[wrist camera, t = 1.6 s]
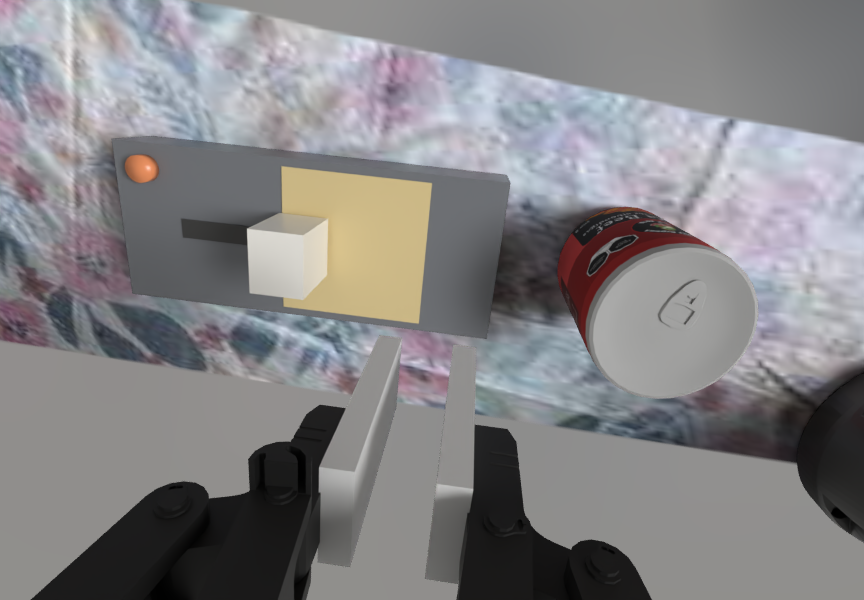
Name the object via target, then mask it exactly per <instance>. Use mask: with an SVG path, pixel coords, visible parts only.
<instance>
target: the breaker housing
mask: <svg viewBox="0 0 864 600" xmlns="http://www.w3.org/2000/svg"><path fill="white" fill-rule="evenodd" d="M112 145H113V153H114V160H115V167H116V175H117V182H118V190H119V197H120V204H121V212H122V219H123V227H124V234H125V241H126V249H127V256H128V263H129V271H130V278H131V286H132V293H133V294H139V295H147V296H155V297H163V298H171V299H178V300H186V301H194V302H202V303H210V304H217V305H225V306H233V307H241V308H249V309H257V310H264V311H272V312H280V313H288V314H296V315H304V316H311V317H319V318H327V319H335V320H343V321H351V322H358V323H366V324H374V325H382V326H390V327H398V328H405V329H413V330H421V331H429V332H437V333H444V334H452V335H460V336H468V337H476V338H484V339H487V333H488V326H489V320H490V313H491V307H492V300H493V293H494V287H495V280H496V274H497V267H498V261H499V254H500V248H501V241H502V234H503V228H504V221H505V215H506V208H507V202H508V195H509V189H510V181H509V179H508V176H507V175H503V174H494V173H485V172H475V171H466V170H457V169H448V168H439V167H430V166H421V165H412V164H403V163H394V162H384V161H375V160H366V159H357V158H348V157H339V156H330V155H321V154H312V153H303V152H294V151H284V150H275V149H266V148H257V147H248V146H239V145H230V144H221V143H212V142H203V141H194V140H184V139H175V138H166V137H157V136H146V137H131V138H115V139H112ZM278 213H285V214H293V215H302V216H310V217H319V218H327V219H328V249H327V276H326V277H325V278H324V279H323V280H322V281H321V282H320V283H319V284H318V285H317V286H316V287H315V288H314V289H313V290H312V291H311V292H310V293H309V294H308V296H307V297H306V298H305V299H304V300H300V299H292V298H284V297H276V296H268V295H260V294H252V293H250V290H249V266H248V242H247V228H249V227H251V226H253V225H256V224H258V223H260V222H262V221H264V220H266V219H268V218H270V217H272V216H274V215H276V214H278Z"/></svg>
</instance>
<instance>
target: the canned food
mask: <svg viewBox="0 0 864 600" xmlns="http://www.w3.org/2000/svg"><path fill="white" fill-rule="evenodd" d="M558 281H559V287H560V289H561V291H562V294H563V296H564V298H565V301H566V303H567V305H568V307H569V310H570V312H571V314H572V316H573V318H574V321H575V323H576V325H577V327H578V330H579V332H580V334H581V336H582V339H583V341H584V343H585V345H586V348H587V350H588V352H589V354H590V355H591V358H592V360H593V362H594V363H595V364H596V366H597V367H598V368H599V370H600V371H601V372H602V374H603V375H604V376H605V377H606V378H607V379H608V380H609V381H610V382H611V383H613V384H614V385H615V386H617V387H618V388H620V389H622V390H624V391H626V392H627V393H631V394H634V395H637V396H640V397H646V398H654V399H661V398H674V397H679V396H684V395H688V394H691V393H693V392H696V391H699V390H701V389H704V388H705V387H707V386H709V385H711V384H712V383H714V382H716V381H718V380H719V379H720V378H721V377H723V376H724V375H725V374H726V373H728V372H729V371H730V370H731V369H732V368H733V367H734V366H735V365H736V363H737V362H738V361H739V360H740V359H741V358H742V356H743V355H744V353H745V352H746V350H747V348H748V347H749V345H750V343H751V341H752V338H753V336H754V333H755V331H756V326H757V320H758V299H757V296H756V293H755V289H754V286H753V284H752V283H751V281H750V279H749V278H748V276H747V274H746V273H745V272H744V271H743V270H742V269H741V268H740V267H739V266H738V265H737V264H736V263H735V262H734V261H733V260H732V259H731V258H730V257H728V256H726V255H725V254H723V253H721V252H720V251H718V250H717V249H715V248H713V247H712V246H710V245H708V244H707V243H705V242H703V241H701V240H699V239H698V238H696V237H694V236H692V235H690V234H689V233H687V232H685V231H683V230H681V229H679V228H678V227H676V226H674V225H672V224H670V223H669V222H667V221H665V220H663V219H661V218H660V217H658V216H656V215H654V214H652V213H651V212H648V211H645V210H642V209H639V208H632V207H619V208H612V209H609V210H605V211H602V212H600V213H598V214H596V215H594V216H592V217H590V218H588V219H587V220H586V221H584V222H583V223H582V224H580V225H579V226H578V227H577V228H576V229H575V230H574V231H573V232H572V234H571V235H570V237H569V238H568V240H567V241H566V243H565V244H564V247H563V249H562V251H561V254H560V258H559V262H558Z"/></svg>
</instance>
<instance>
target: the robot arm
mask: <svg viewBox="0 0 864 600" xmlns="http://www.w3.org/2000/svg"><path fill="white" fill-rule="evenodd" d="M401 343H402V338H398V337H390V336H383V335H379V338H378V340H377V342H376V344H375V346H374V348H373V351H372V353H371V355H370V357H369V359H368V362H367V364H366V366H365V368H364V370H363V372H362V375H361V377H360V379H359V381H358V383H357V386H356V388H355V390H354V392H353V394H352V396H351V399H350V401H349V403H348V406H347V407H346V408H340V407H333V406H326V405H319V406H317V407H316V408H315V409H313V410H312V411H310V412H309V413H308V414H306V416H305V418H304V420H303V421H302V423H301V425H300V428H299V429H298V430H297V432H296V433H295V435H294V438H293V439H292V440H291V442H275V443H272V444H268V445H265V446H263V447H261V448H260V449H258V450H256V451H255V452H254V453H253V454H252V455H251V456H250V458H249V459H248V461H249V462H248V463H249V483H250V491H249V492H247V493H245V494H241V495H235V496H229V497H220V498H210V499H209V496H208V493H207V491H206V490H205V488H204V487H203V486H201V485H199V484H197V483H193V482H177V483H171V484H168V485H165V486H163V487H160V488H158V489H156V490H154V491H153V492H151V493H150V494H148V495H147V496H146V497H144V498H143V499H142V500H141V501H140V502H139V503H138V504H137V505H136V506H134V507H133V508H132V509H131V510H130V511H129V512H128V513H127V514H126V515H124V516H123V517H122V518H121V519H120V520H119V521H118V522H117V523H116V524H114V525H113V526H112V527H111V528H110V529H109V530H108V531H107V532H106V533H104V534H103V535H102V536H101V537H100V538H99V539H98V540H97V541H96V542H95V543H93V544H92V545H91V546H90V547H89V548H88V549H87V550H86V551H85V552H83V553H82V554H81V555H80V556H79V557H78V558H77V559H76V560H74V561H73V562H72V563H71V564H70V565H69V566H68V567H67V568H66V569H65V570H63V571H62V572H61V573H60V574H59V575H58V576H57V577H56V578H55V579H53V580H52V581H51V582H50V583H49V584H48V585H47V586H45V587H44V588H43V589H42V590H41V591H40V592H39V593H38V594H37V595H35V597H34V598H32V599H31V600H306V598H307V594H308V590H309V587H310V582H311V564H312V561H313V559H314V556H315V553H316V551H317V548H318V562H319V563H326V564H333V565H338V566H345V567H350V565H351V562H352V559H353V555H354V552H355V548H356V545H357V541H358V538H359V535H360V531H361V527H362V524H363V520H364V517H365V514H366V510H367V507H368V503H369V499H370V496H371V493H372V489H373V486H374V483H375V479H376V476H377V472H378V469H379V465H380V462H381V458H382V455H383V451H384V448H385V444H386V441H387V437H388V434H389V430H390V427H391V423H392V420H393V417H394V413H395V410H396V404H397V392H398V380H399V368H400V356H401ZM475 374H476V347H468V346H460V345H453V351H452V359H451V367H450V375H449V383H448V391H447V399H446V407H445V415H444V423H443V432H442V440H441V449H440V457H439V465H438V474H437V482H436V490H435V498H434V507H433V515H432V523H431V532H430V540H429V549H428V557H427V565H426V573H425V579H429V580H436V581H442V582H448V583H455V584H458V581H459V586H458V594H457V600H652V599H651V597H650V595H649V593H648V591H647V589H646V587H645V585H644V584H643V581H642V579H641V577H640V575H639V573H638V572H637V570H636V568H635V566H634V565H633V564H632V562H631V561H630V559H629V558H628V557H627V556H626V555H625V554H623V553H622V552H621V551H620V550H619V549H617V548H616V547H613V546H611V545H609V544H607V543H605V542H602V541H596V540H585V541H580V542H578V543H577V544H576V545H574V546H573V547H572V549H571V550H570V549H568V548H566V547H563V546H561V545H558V544H556V543H554V542H552V541H550V540H548V539H546V538H544V537H543V536H542V535H540V534H539V533H538V532H536V531H535V530H534V528H533V527H532V526H531V524H530V521H529V520H528V518H527V517H526V516H525V513H524V508H523V498H522V490H521V480H520V471H519V462H518V453H517V444H516V441H515V440H514V438H513V436H512V435H511V433H510V432H509V431H508V429H503V428H495V427H488V426H481V425H475ZM797 466H798V472H799V476H800V479H801V482H802V484H803V486H804V488H805V490H806V491H807V492H808V494H809V495H810V496H811V497H812V499H813V500H814V501H815V502H816V503H817V504H818V506H819V507H820V508H821V509H822V510H823V511H824V512H825V514H826V515H827V516H828V517H829V518H830V519H831V520H832V521H833V522H834V523H836V524H837V525H838V526H839V527H840V528H842V529H843V530H845V531H846V532H848V533H849V534H851V535H853V536H854V537H856V538H857V539H859V540H860V541H862V542H864V373H863V374H861V375H859V376H858V377H856V378H854V379H853V380H851V381H849V382H848V383H846V384H845V385H844V386H842V387H841V388H840V389H838V390H837V391H836V392H835V393H833V394H832V395H831V396H830V397H829V398H828V399H827V400H826V401H825V402H824V403H823V404H822V405H821V406H820V407H819V408H818V410H817V411H816V412H815V413H814V415H813V416H812V418H811V419H810V421H809V422H808V424H807V426H806V428H805V430H804V432H803V434H802V437H801V440H800V443H799V447H798V454H797Z"/></svg>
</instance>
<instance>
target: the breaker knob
mask: <svg viewBox="0 0 864 600" xmlns="http://www.w3.org/2000/svg"><path fill="white" fill-rule="evenodd" d="M247 242H248V266H249V290H250V293H252V294H260V295H268V296H276V297H284V298H292V299H300V300H304V299H305V298H306V297H307V296H308V294H309V293H310V292H311V291H312V290H313V289H314V288H315V287H316V286H317V285H318V284H319V283H320V282H321V281H322V280H323V279H324V278H325V277H326V276H327V249H328V219H327V218H319V217H310V216H302V215H293V214H285V213H278V214H276V215H274V216H272V217H270V218H268V219H266V220H264V221H262V222H260V223H258V224H256V225H253V226H251V227H249V228H247Z"/></svg>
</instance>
